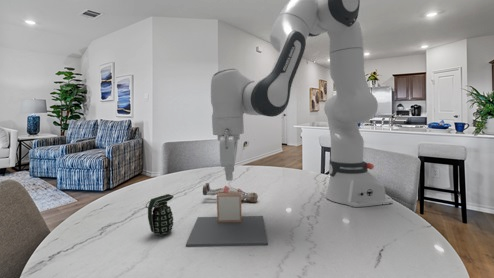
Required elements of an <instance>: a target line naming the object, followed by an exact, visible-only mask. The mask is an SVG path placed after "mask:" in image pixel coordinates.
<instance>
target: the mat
mask: <svg viewBox="0 0 494 278" xmlns="http://www.w3.org/2000/svg"><path fill="white" fill-rule="evenodd" d="M266 230H267V229H266V226H265V220H264V215H244V216H243V215H242V222H217V216H197V218H196V220H195V223H194V225H193V227H192V229H191V232H190V234H189V236H188V239H187V240H186V243H185V247H187V248H189V247H195V248H196V247H226V246H227V247H230V246H231V247H233V246H234V247H235V246H237V247H242V246H243V247H244V246H268V245H269V242H268V236H267V231H266Z"/></svg>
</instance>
